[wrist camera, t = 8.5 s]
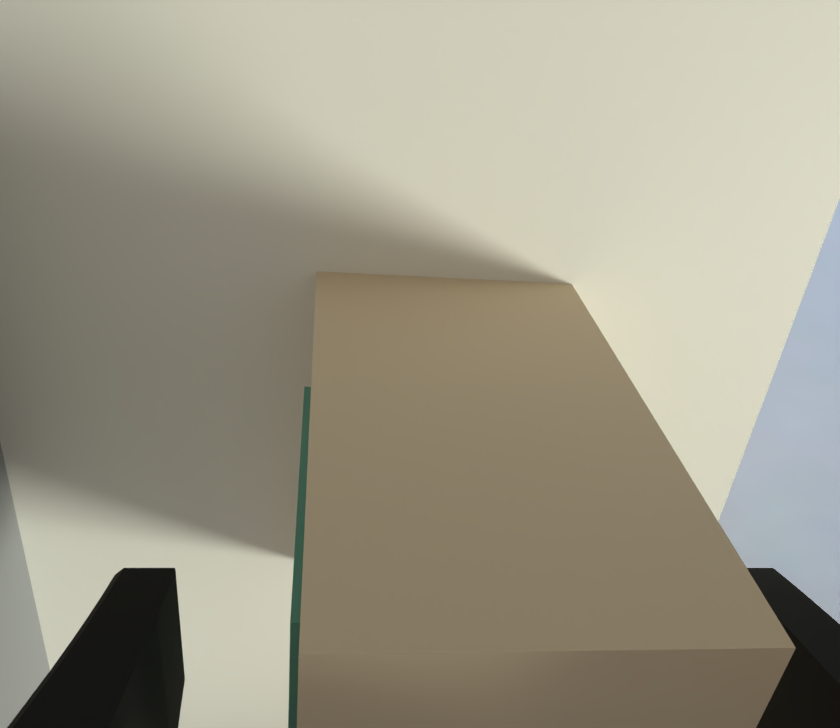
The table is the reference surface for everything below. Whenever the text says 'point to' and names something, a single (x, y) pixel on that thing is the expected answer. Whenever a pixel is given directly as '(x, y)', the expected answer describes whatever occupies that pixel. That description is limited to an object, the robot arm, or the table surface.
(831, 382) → the table surface
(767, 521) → the table surface
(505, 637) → the carton
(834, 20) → the shelf board
